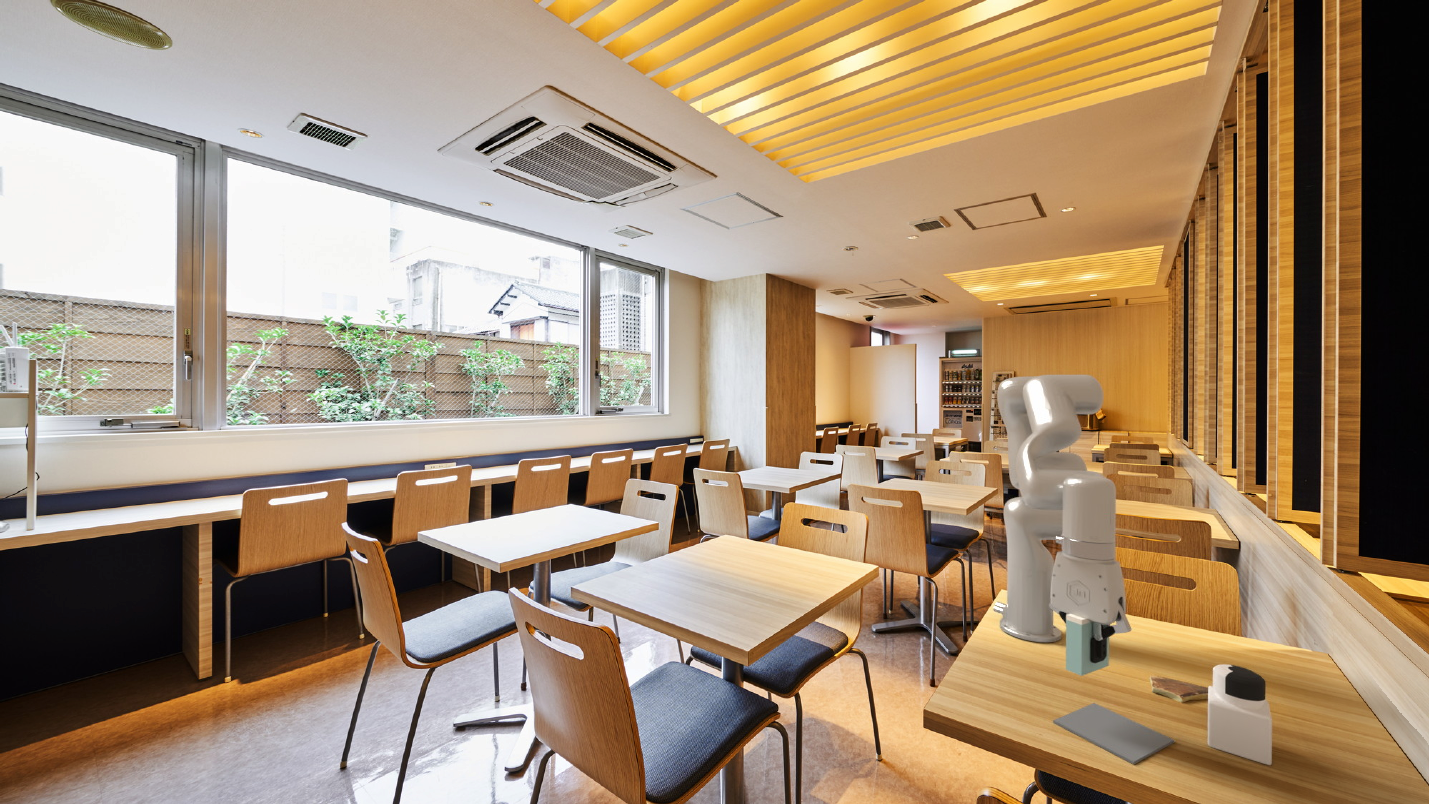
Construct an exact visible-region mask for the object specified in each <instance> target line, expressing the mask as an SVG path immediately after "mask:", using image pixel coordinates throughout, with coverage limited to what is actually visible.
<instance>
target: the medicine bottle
mask: <svg viewBox="0 0 1429 804" xmlns="http://www.w3.org/2000/svg"><path fill="white" fill-rule="evenodd" d="M1207 687H1208V699H1207V746H1208V747H1210V748H1213V749H1215V750H1216V749H1217V750H1219V751H1223V752H1225V753H1228V754H1231V755H1235V756H1238V757H1241V758H1244V759H1248V760H1250V761H1254V762H1257V763H1260V764H1263V765H1267V766H1271V765H1272V763H1273V762H1272V761H1273V760H1272V757H1273V756H1272V754H1273V751H1272V750H1273V745H1272V744H1273V718H1272V714H1271V709H1270V703H1269V701H1268V700H1266V690H1267V689H1266V687H1267V686H1266V680H1265V679H1264V678H1263V676H1262V675H1260V674H1259V673H1257V672H1255V671H1254V670H1253V671H1252V670H1251V669H1248V668H1246V667H1244V666H1243V667H1242V666H1239V665H1235V664H1217V665H1215V666H1213V668H1212V685H1209V686H1207Z"/></svg>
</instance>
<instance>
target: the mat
mask: <svg viewBox="0 0 1429 804" xmlns="http://www.w3.org/2000/svg"><path fill="white" fill-rule="evenodd" d="M1052 722H1053V724H1055V725H1057V726H1059V727H1061V728H1063V729H1064V730H1067V731H1069V732H1071V733H1072V734H1073V735H1076V736H1079V738H1082V739H1084V740H1086V741H1088V742H1089V743H1092V744H1094V745H1095V746H1097V747H1099V748H1101V749H1103V750H1105V751H1107V752H1109V753H1111V754H1112V755H1114V756H1116V757H1118V758H1120V759H1122V760H1124V761H1126V762H1127V763H1130V764H1132V765H1135V764H1137V763H1139V762H1141V761H1143V760H1144V759H1146V758H1149V757H1150V756H1153V754H1156V753H1157V752H1159V751H1161V750H1163V749H1165V748H1167V747H1168V746H1170V745H1172V744H1174V743H1175V739H1173V738H1172V737H1169V736H1167V735H1165V734H1162V733H1161V732H1158V731H1156V730H1154V729H1152V728H1150V727H1148V726H1145V725H1143V724H1141V723H1139V722H1136V721H1135V720H1132V719H1130V718H1127V717H1126V716H1123V715H1121V714H1119V713H1117V712H1116V711H1113V710H1111V709H1108V708H1106V707H1104V706H1102V705H1099V704H1097V703H1096V702H1093V703H1091V704H1089V705H1086V706H1084V707H1081V708H1079V709H1076V710H1074V711H1072V712H1070V713H1067V714H1065V715H1062V716H1059V717H1057V718H1056V719H1053V721H1052Z"/></svg>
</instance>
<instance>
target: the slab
mask: <svg viewBox="0 0 1429 804" xmlns="http://www.w3.org/2000/svg"><path fill="white" fill-rule="evenodd" d="M1091 638H1094V631H1093V622H1092V621H1089V620H1087V619H1086V618H1083V617H1079V616H1076V615H1073V614H1068V615H1066V624H1065V639H1066V640H1065V670H1066V671H1069V672H1071V673H1074V674H1076V675H1079V676H1081V677H1082V676H1085V675H1088V674H1090V673H1093V672H1096V671H1099V670H1101V669H1104V668H1108V667H1109V666H1110V637H1109V638H1107V656H1106V658H1105V659H1104V661H1101V662H1098V663H1092V662H1091V660H1090V641H1091Z"/></svg>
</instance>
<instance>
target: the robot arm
mask: <svg viewBox="0 0 1429 804" xmlns="http://www.w3.org/2000/svg"><path fill="white" fill-rule="evenodd" d="M996 395H997V396H996V399H997V407H998V411H999V413H1000V414H999V415H1000V416H1001V419H1002V421H1003V423H1004V426H1005V430H1006V433H1007V451H1008V452H1007V457H1008V473H1009V475H1008V476H1009V480H1010V483H1011V485H1012V487H1014V488H1015V489H1017V490H1019V492H1020V495H1021V496H1019V497H1018V496H1017V497H1014V498H1013V497H1012V498H1010V499H1008V500H1007V501H1006V502H1005V504H1004V506H1003V519H1004V526H1005V533H1006V534H1005V535H1006V545H1007V546H1006V547H1007V549H1006V550H1007V554H1006V555H1007V556H1006V557H1007V559H1006V560H1007V566H1006V568H1007V573H1006V574H1007V575H1006V577H1007V578H1006V579H1007V581H1006V584H1007V585H1006V586H1007V587H1006V604H1005V603H1003V602H1002V601H1001V602H1000V601H996V602H995V603H994V606H993V609H992V610H993V611H994V612H995V613H998V614H1001V615H1002V618H1001V619H1000V620H999V628H1000V629H1001V630H1002V631H1003V632H1004V633H1007V634H1008V635H1010V636H1013V637H1015V638H1017V639H1020V640H1025V641H1031V642H1035V643H1036V642H1037V643H1052V642H1053V643H1054V642H1057V641H1059V640H1061V638H1062V631H1061V630H1060V628H1058V627H1057V626H1055V625H1054V613H1056V614H1058V615H1059V617H1060V618H1061V619H1062V621H1063V622H1064V624H1065V625H1066V615H1068V614H1073V615H1076V616H1079V617H1083V618H1086V619H1087V620H1089V621H1092V622H1093V631H1094V638H1091V641H1090V660H1091V662H1092V663H1098V662H1101V661H1104V659H1105V658H1106V656H1107V638H1109V639H1110V638H1111V637H1112V636H1113V635H1115V634H1127V633H1130V632H1131V631H1132V626H1131V624H1130V622H1129V620H1128V617H1127V616H1126V613H1127V612H1126V611H1127V608H1126V607H1127V606H1126V605H1127V604H1126V603H1127V601H1126V591H1125V581H1124V575H1123V571H1122V568H1121V567H1122V566H1121V564H1120V561H1118V560H1116V530H1117V529H1116V523H1117V522H1116V519H1117V518H1116V516H1117V515H1116V512H1117V511H1116V510H1117V509H1116V508H1117V505H1116V503H1117V499H1116V498H1117V496H1116V495H1117V489H1116V485H1115V483H1114V481H1113V480H1112V479H1109V478H1107V477H1105V476H1104V475H1103V474H1102V473H1100V472H1098V471H1092V470H1088V469H1087V468H1088V467H1087V465H1086V462H1085V461H1084V459H1083V457H1081V456H1080V455H1079V454H1077V453H1074V452H1066V451H1061V450H1064V449H1066V448H1068V447H1071V446H1072V445H1074V444H1076V443H1077V441H1078V440H1079V439H1080V438H1081V435H1082V427H1081V424H1080V421H1079V418H1078V415H1093V414H1096V413H1098V412H1099V411H1100V410H1101V409H1102V407H1103V403H1104V390H1103V387H1102V385H1101V383H1100V382H1099V380H1098V379H1096V377H1094V376H1093V375H1089V374H1042V375H1037V376H1034V375H1033V376H1014V377H1010V378H1006V379H1004V380H1002V381H1001V382H1000V384H999V385H998V387H997V394H996ZM1043 540H1044V541H1045V540H1052V541H1055V543H1056V544H1060V545H1061V550H1060V551H1057V552H1056V555H1055V560H1054V558H1053V556H1052V553H1051V552H1050V551H1049V550H1048V548H1047V547H1046V546H1044V544H1043V543H1042V541H1043ZM1114 623H1116V624H1114Z"/></svg>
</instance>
